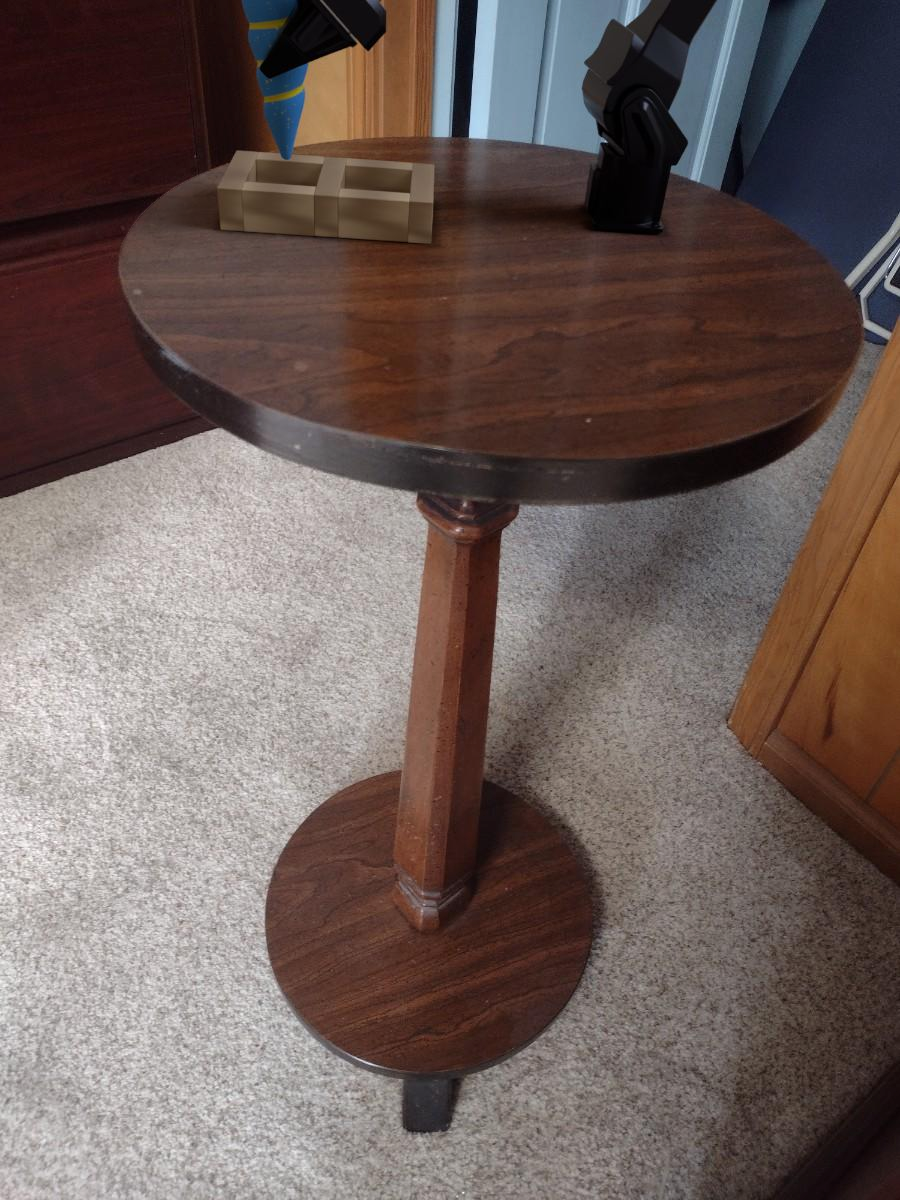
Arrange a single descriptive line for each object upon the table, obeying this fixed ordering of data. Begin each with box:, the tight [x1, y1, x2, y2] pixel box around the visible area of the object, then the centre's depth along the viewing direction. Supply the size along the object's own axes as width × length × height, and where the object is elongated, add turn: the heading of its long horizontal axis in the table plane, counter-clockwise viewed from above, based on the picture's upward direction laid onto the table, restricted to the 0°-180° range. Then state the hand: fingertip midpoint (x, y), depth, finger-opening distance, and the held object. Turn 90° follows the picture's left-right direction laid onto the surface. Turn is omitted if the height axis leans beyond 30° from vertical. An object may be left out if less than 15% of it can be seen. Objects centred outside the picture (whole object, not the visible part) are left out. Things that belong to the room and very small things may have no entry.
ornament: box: [241, 0, 310, 160], centre depth 77 cm, size 5×5×15 cm
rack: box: [216, 150, 435, 245], centre depth 86 cm, size 18×10×4 cm, turn 90°
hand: (262, 65), depth 77 cm, fingers closed on ornament, 4 cm apart
